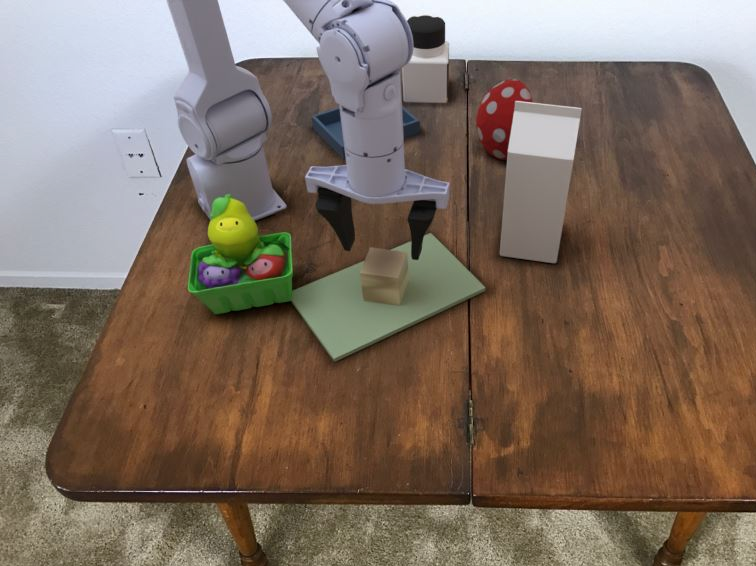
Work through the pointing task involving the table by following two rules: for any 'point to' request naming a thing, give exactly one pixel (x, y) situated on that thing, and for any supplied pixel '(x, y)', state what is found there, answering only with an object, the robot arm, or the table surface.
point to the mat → (378, 320)
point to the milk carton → (538, 179)
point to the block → (384, 276)
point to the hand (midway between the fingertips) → (383, 249)
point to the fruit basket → (240, 262)
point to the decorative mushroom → (499, 116)
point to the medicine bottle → (427, 61)
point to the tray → (331, 127)
